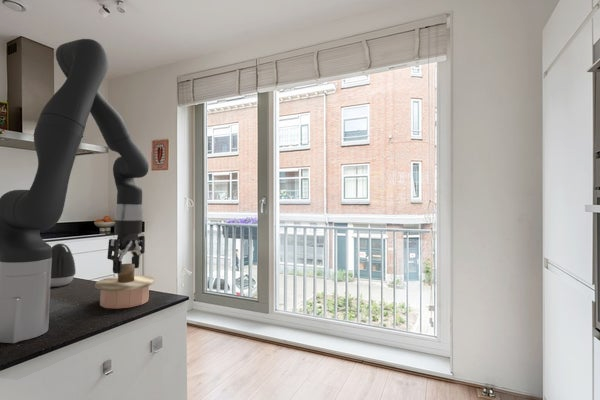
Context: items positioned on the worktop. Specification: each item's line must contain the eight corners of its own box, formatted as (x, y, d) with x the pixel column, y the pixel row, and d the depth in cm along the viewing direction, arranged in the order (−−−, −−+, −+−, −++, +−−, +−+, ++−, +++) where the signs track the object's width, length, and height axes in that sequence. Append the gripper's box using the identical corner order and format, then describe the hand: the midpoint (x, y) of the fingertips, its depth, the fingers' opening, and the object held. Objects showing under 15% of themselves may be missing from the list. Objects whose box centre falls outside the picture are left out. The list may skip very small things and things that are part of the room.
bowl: (131, 309, 91) (131, 290, 91) (89, 306, 92) (90, 288, 92) (156, 297, 104) (157, 280, 104) (120, 294, 105) (120, 278, 105)
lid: (133, 292, 89) (134, 271, 89) (81, 289, 91) (82, 268, 91) (163, 279, 105) (164, 261, 105) (119, 277, 107) (120, 259, 107)
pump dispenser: (33, 286, 113) (35, 243, 113) (66, 280, 122) (68, 241, 122) (48, 290, 108) (50, 246, 108) (80, 284, 117) (82, 243, 118)
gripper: (124, 220, 91) (122, 276, 91) (153, 218, 105) (151, 267, 105) (101, 219, 92) (98, 274, 92) (132, 217, 106) (130, 265, 106)
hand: (126, 270), depth 98 cm, fingers open, 8 cm apart
